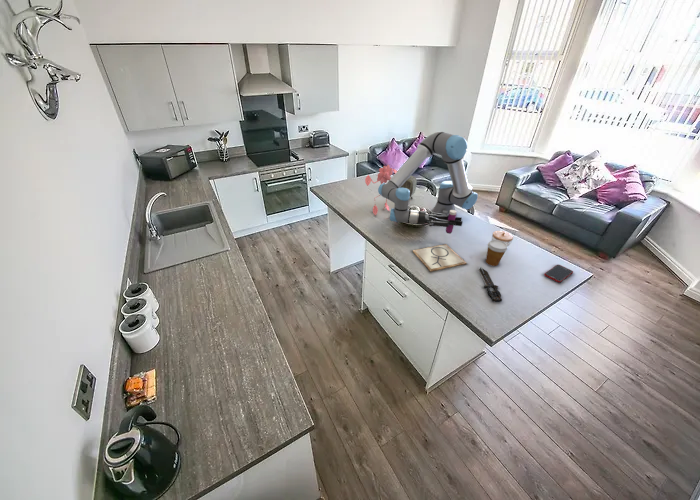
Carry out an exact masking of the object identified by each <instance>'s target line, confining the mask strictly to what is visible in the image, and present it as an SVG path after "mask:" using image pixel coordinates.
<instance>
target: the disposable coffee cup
mask: <svg viewBox="0 0 700 500" xmlns="http://www.w3.org/2000/svg"><path fill="white" fill-rule="evenodd" d="M508 248H509V247H507V244H506V243H504V242H502V241H500V240H492V239H491V240H489V242H487V252H486V257H485V258H486V259H485V263H486V264H487V265H488V266H490V267H497V266H498V265H499V264H500V262H501V260H502V259H503V257H504V255H505V253H506V251H507V250H508Z"/></svg>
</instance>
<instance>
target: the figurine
mask: <svg viewBox="0 0 700 500" xmlns="http://www.w3.org/2000/svg"><path fill="white" fill-rule="evenodd" d="M397 171H398V170H396V169H395V168H392V167H390V164H387V165H383V167H379V169H378V172H379V173H377V175H376V177H377V178H376V181H373V179H372V177H371V176H370V175H369V174H368V175H367V176H366V177H365V178H364V182H365V185H366V186H367V187H369V186H370V185H371V182H372V184H377V183H379V182H380V185H381V184H382V183H388V181H389V180H390V179H391V178H392V177H391V176H392V175H393V173H394V175H395V174H396V172H397ZM380 196H381V195H380V194H378V195H377V196H375V197H374V200H376V198H379V197H380ZM387 200H388V199H387V198H385V203H384V206H383V208H382V210H383V211H384V210H385V209H386V210H387V211H388V212H391V209H390V206H389V205H388V201H387ZM378 212H379V209H378V206H377V205H373V207H372V213H373V215H374V216H375V217H376V216H377V214H378ZM388 219H389V220H390V217H388V218H387V220H388Z"/></svg>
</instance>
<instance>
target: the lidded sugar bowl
mask: <svg viewBox="0 0 700 500" xmlns="http://www.w3.org/2000/svg"><path fill="white" fill-rule="evenodd" d="M491 240H500V241H502V242H504V243H506V244H507V248H509V246H511V244H512V242H513V240H514V236H513V234H511V233H510V232H508V231H505V230H495V231H493V232H492V235H491Z"/></svg>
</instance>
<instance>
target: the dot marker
mask: <svg viewBox="0 0 700 500" xmlns="http://www.w3.org/2000/svg"><path fill="white" fill-rule="evenodd" d="M455 217H457V210H456V209H455V210H450V212H449V217H448V221H450V220H455ZM454 226H455V225H449V227H445V233H446V234H452V232H453V229H454Z"/></svg>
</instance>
